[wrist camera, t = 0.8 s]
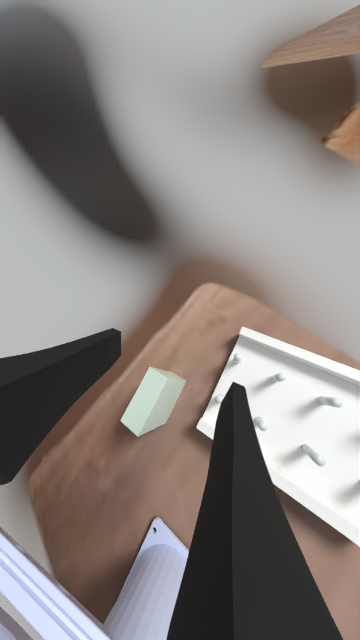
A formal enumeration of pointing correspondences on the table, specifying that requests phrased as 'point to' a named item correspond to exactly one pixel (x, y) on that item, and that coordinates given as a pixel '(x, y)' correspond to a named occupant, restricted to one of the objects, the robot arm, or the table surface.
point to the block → (153, 401)
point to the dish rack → (300, 423)
